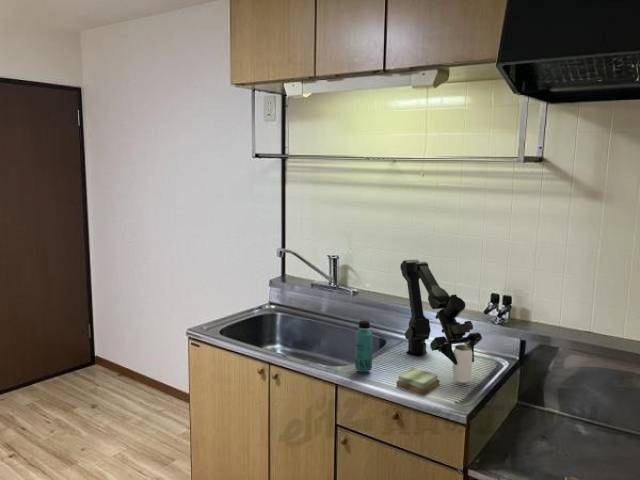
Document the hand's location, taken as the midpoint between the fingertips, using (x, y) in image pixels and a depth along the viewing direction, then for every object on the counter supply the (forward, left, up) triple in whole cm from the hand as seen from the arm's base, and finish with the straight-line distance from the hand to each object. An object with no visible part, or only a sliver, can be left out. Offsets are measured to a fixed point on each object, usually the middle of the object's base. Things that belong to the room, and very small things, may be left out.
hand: (464, 363), depth 185 cm
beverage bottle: (-35, -13, -9) cm, 38 cm away
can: (-1, +1, -7) cm, 7 cm away
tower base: (-13, -10, -8) cm, 18 cm away
